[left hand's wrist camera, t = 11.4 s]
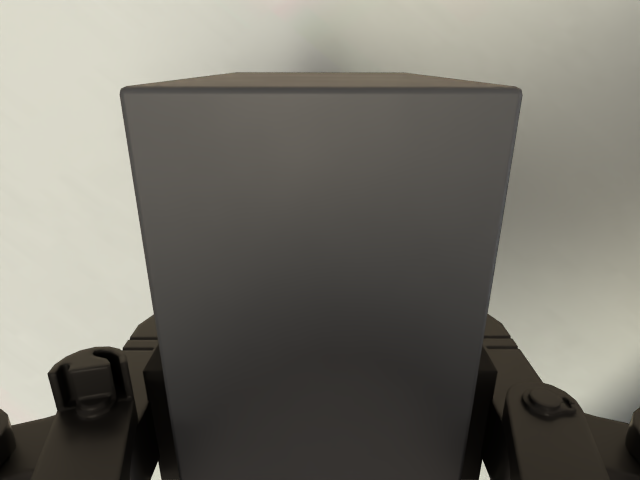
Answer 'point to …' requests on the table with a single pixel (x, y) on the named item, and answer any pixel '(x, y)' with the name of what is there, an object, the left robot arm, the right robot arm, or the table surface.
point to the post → (320, 266)
